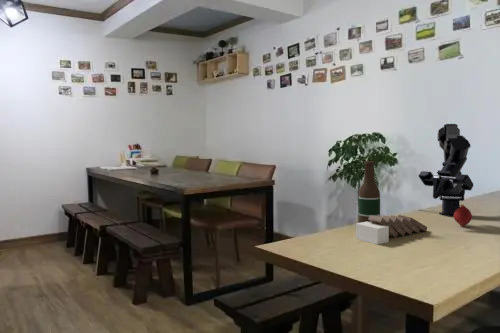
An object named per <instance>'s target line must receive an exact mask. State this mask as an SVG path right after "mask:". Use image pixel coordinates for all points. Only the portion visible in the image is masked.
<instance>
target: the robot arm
mask: <svg viewBox="0 0 500 333" xmlns="http://www.w3.org/2000/svg"><path fill="white" fill-rule="evenodd" d="M458 126H459V125H458V124H456V123H446V124H444V125H443V126H442V127H441V128H439V129H438V131H437V142H438V144H439V147H440V148H441V150H443V159H444V161H442V164H441V165H442V168H441V170H439V169H438V170H437V171H436V173H437V174H433V172H432V171H424V170H422V171H420V172H419V174H418V177H419V178H418V179H420V181H421V182H422V184H423V185H424V186H427V187H432V198H433V199H434V200H436V199H439V201H442V203H441V204H442V205H441V211H439V212H438V214H439V215H442V216H447V217H454V213H455V211H456V210H457V209H458V208H460V207H461V204H460V201H461V202H463V201H465V193H466V191H470V192H471V191H472V189H473V188H474V183H473V181H472V180H471V178H470V176H469V175H468V174H463V173H462V168H463V167H464V165H465V163H466V162H467V160H468V158H467V156H468V153H469V149H470V148H471V144H470V141H469V140H468V139H467V138H466V137H465V135H461V130H460V128H459V127H458Z"/></svg>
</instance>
